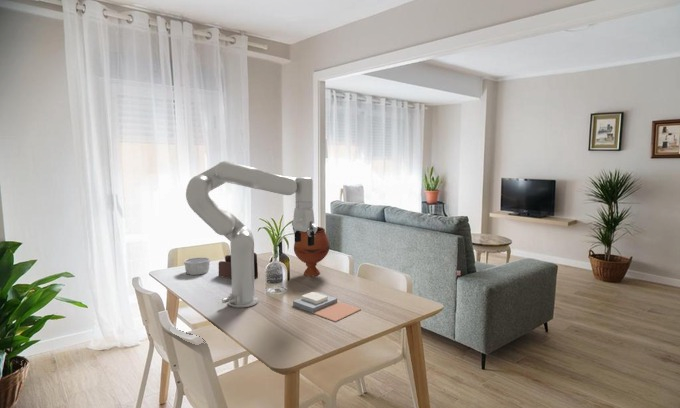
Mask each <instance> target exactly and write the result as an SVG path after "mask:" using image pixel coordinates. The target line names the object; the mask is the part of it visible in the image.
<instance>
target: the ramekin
mask: <svg viewBox="0 0 680 408" xmlns="http://www.w3.org/2000/svg"><path fill="white" fill-rule="evenodd" d="M210 263H211V259H210V258H208V257H203V256H199V257H197V256H196V257H191V258H187V259H184V261H183V264H184V269H185V272H186V274H187V275H189V274H190V276H199V275H200V274H201V275H203V274H204V273H205V274H207V273H208V272H209V270H210Z"/></svg>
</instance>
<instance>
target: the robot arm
mask: <svg viewBox="0 0 680 408" xmlns="http://www.w3.org/2000/svg"><path fill="white" fill-rule="evenodd" d="M226 183H227V184H232V185H236V186H237V185H238V186H241V187H246V188H252V189H255V190H260V191H265V192H270V193H275V194H278V195H283V196H292V195H294V194H295V196H294V197H295V208H294V211H293V221H292V222H291V227H292V230H293V234H294V235H293V236H294V243H295V242H300V241H301V233H300V231H301V232H307V234H308V236H309V237H308V246H312V245H314V236H315V234H316V232H317V229H318V228H317V227H318V226H317V225H316V224H315V214H314V208H313V206H314V202H313V199H314V198H313V197H314V195H313V194H314V192H313V190H314V188H313V187H314V185H313V184H314V183H313V178H312V177H308V176H301V177H300V176H299V177H293V176H283V175H279V174H276V173H275V174H274V173H271V172H267V171H264V170H263V169H259V168H257V167H253V166H252V167H251V166H249V165H243V164H239V163H234V162H230V161H226V160H224V161H221V162H219V163H217V164H216V165H214V166H213V167H211V168H208V169H207V170H205V171H203V172H201V173H199V174H197V175H195V176H193V177H192V178H191V179H190V180H189V181H188V183H187V186H186V192H185V197H186V198H185V199H186V202H187V204H188V206H189V208H190V210H192V211H193V212H194V213H195V214H196V215H197V216H198V217H199V218H200V219H201V220H202V221H203V222H204V223H205V224H207V226H209V227H210V228H211V229H212V230H213V232H215V234H217V235H218V236H219V235H220V236H224V237H225V238H226V239H227V240H229V243H230V255H231V275H232V279H231V293H229V295H228V297H224V298H222V299H221V303H222V304H226V303H228V305H229V306H230V307H233V308H239V309H241V308H249V307H252V306H255V305H257V304H258V303H259V297H257V296H256V295H255V292H256V291H255V279H254V253H255V240H254V239H255V238H254V234H253V233H252V231H251V230H250V229H249V228H248V227H247V226H246V225H245V224H244V223H243V222H242V220H241V221H240V219H239V218H238V217H237V216H235V215H234V214H233V212H231V211H228V210H224V209H222V208H221V207H220V206H219V205H218V204H217V202H215V201H214V200H213V199H211V197H210V195H209V193H210V192H212V191H214V189H216V188H218V187H221V186H222V185H224V184H226ZM310 232H311V234H310Z"/></svg>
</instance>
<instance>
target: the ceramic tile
mask: <svg viewBox="0 0 680 408" xmlns="http://www.w3.org/2000/svg"><path fill="white" fill-rule="evenodd" d="M316 292H317V291H316ZM316 292H315V291H311V292H308V293H305V294H303V295H301V297H300V298H301V299H303V300H305V301H308V302H311V303H314V304H319V303H321V302H324V301H326V300H328V296H329V295H328V296H325V295H326V294H325V295H322V294H323V293H322V294H319V293H320V292H319V293H316Z"/></svg>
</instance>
